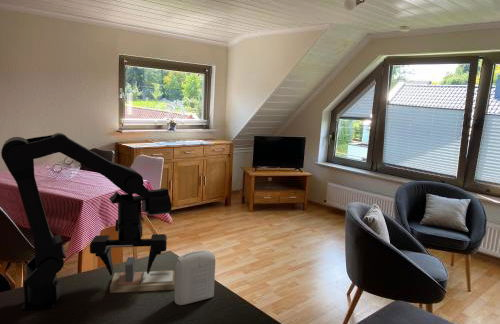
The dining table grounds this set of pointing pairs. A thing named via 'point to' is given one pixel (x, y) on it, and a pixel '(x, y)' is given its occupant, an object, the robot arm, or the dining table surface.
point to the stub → (130, 273)
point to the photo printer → (194, 277)
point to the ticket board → (146, 282)
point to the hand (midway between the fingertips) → (130, 274)
